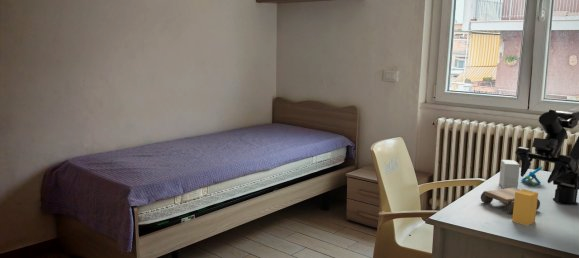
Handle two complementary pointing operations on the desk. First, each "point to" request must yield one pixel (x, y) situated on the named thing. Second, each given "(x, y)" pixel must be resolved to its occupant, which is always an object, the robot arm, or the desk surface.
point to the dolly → (503, 197)
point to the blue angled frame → (532, 174)
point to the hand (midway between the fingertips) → (534, 179)
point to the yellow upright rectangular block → (525, 207)
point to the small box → (509, 174)
